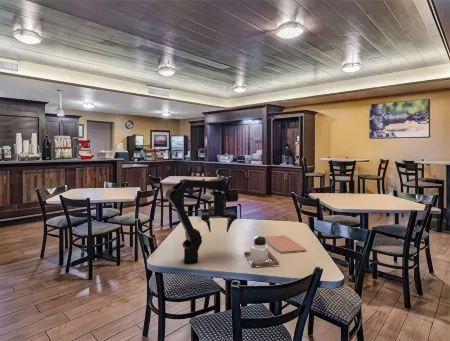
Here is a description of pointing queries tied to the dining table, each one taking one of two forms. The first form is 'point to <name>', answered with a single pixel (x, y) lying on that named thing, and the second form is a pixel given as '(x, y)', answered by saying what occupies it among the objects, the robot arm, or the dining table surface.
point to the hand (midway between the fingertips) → (218, 232)
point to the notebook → (284, 244)
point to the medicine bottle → (259, 250)
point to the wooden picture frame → (269, 263)
